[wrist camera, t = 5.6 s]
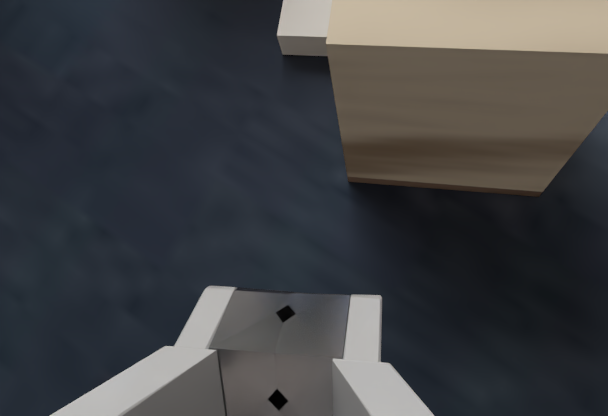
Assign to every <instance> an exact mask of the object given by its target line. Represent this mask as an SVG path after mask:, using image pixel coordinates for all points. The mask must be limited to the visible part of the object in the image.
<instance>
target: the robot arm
mask: <svg viewBox="0 0 608 416" xmlns="http://www.w3.org/2000/svg"><path fill="white" fill-rule="evenodd" d="M381 323H382V297H381V296H380V295H353V294H352V295H335V294H315V293H295V292H289V291H277V290H265V289H252V288H240V287H238V288H236V287H224V286H209V287H207V288H206V289H205V290H204V291H203V293H202V295H201V297H200V299H199V301H198V303H197V304H196V306H195V308H194V310H193V312H192V314H191V316H190V317H189V319H188V321H187V323H186V325H185V327H184V329H183V330H182V332H181V334H180V336H179V338H178V340H177V342H176V343H175V345H174V347H173V346H165V347H163V348H161V349H160V350H158V351H156V352H155V353H153V354H151V355H150V356H148V357H146V358H145V359H143V360H141V361H140V362H138V363H136V364H135V365H133V366H131V367H130V368H128V369H126V370H125V371H123V372H121V373H120V374H118V375H116V376H115V377H113V378H111V379H110V380H108V381H106V382H105V383H103V384H102V385H100V386H98V387H97V388H95V389H93V390H92V391H90V392H88V393H87V394H85V395H83V396H82V397H80V398H78V399H77V400H75V401H73V402H72V403H70V404H68V405H67V406H65V407H63V408H62V409H60V410H58V411H57V412H55V413H53V414H52V415H50V416H434V415H433V413H432V412H431V411H430V410H429V409H428V407H427V406H426V405H425V404H424V403H423V402H422V400H421V399H420V398H419V397H418V396H417V395H416V393H415V392H414V391H413V390H412V389H411V388H410V386H409V385H408V384H407V383H406V382H405V380H404V379H403V378H402V377H401V376H400V375H399V373H398V372H397V371H396V370H395V369H394V368H393V366H392V365H391V364H390V363H382V362H381Z"/></svg>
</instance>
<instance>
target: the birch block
mask: <svg viewBox="0 0 608 416" xmlns="http://www.w3.org/2000/svg"><path fill="white" fill-rule="evenodd" d="M326 49H327V55H328V61H329V67H330V73H331V79H332V85H333V91H334V97H335V103H336V110H337V116H338V122H339V128H340V134H341V140H342V146H343V152H344V158H345V165H346V171H347V177H348V182H359V183H372V184H384V185H397V186H410V187H422V188H435V189H447V190H460V191H473V192H485V193H498V194H511V195H523V196H536V197H539V196H540V195H541V193H542V192H543V191H544V190H545V188H546V187H547V186H548V185H549V183H550V182H551V181H552V180H553V178H554V177H555V176H556V175H557V173H558V172H559V171H560V170H561V168H562V167H563V166H564V165H565V163H566V162H567V161H568V160H569V158H570V157H571V156H572V155H573V153H574V152H575V151H576V150H577V148H578V147H579V146H580V145H581V143H582V142H583V141H584V140H585V138H586V137H587V136H588V135H589V133H590V132H591V131H592V130H593V128H594V127H595V126H596V125H597V123H598V122H599V121H600V120H601V118H602V117H603V116H604V115H605V113H606V112H607V111H608V0H332V6H331V12H330V19H329V26H328V32H327V39H326Z"/></svg>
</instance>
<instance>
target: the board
mask: <svg viewBox="0 0 608 416" xmlns="http://www.w3.org/2000/svg"><path fill="white" fill-rule="evenodd" d="M331 6H332V0H283V5H282V10H281V15H280V21H279V26H278V32H277V38H278V41H279V45H280V48H281V51H282V55H307V56H328V55H327V49H326V39H327V32H328V26H329V19H330V12H331Z"/></svg>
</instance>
